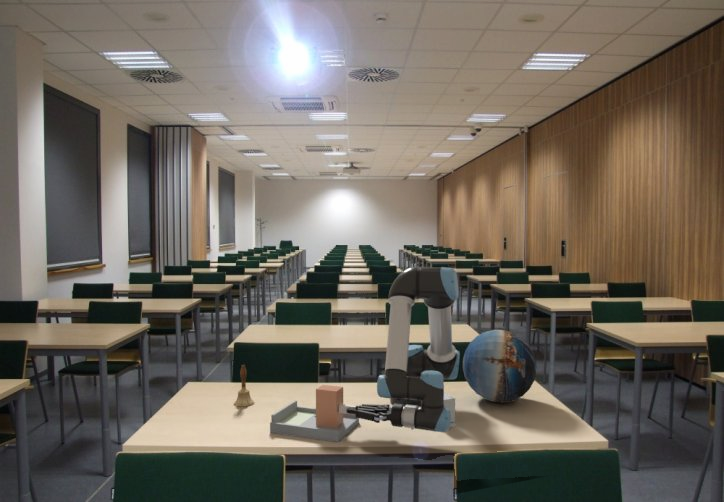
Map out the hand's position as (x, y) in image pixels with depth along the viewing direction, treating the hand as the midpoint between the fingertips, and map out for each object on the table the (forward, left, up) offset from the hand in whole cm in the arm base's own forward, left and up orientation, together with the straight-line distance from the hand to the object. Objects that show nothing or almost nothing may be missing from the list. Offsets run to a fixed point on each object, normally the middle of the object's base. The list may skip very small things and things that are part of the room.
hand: (339, 408), depth 195 cm
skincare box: (-37, -10, -9) cm, 39 cm away
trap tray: (+9, -5, -8) cm, 13 cm away
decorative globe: (-65, -37, -9) cm, 75 cm away
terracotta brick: (+4, -2, -6) cm, 8 cm away
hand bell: (+41, -33, -9) cm, 53 cm away
